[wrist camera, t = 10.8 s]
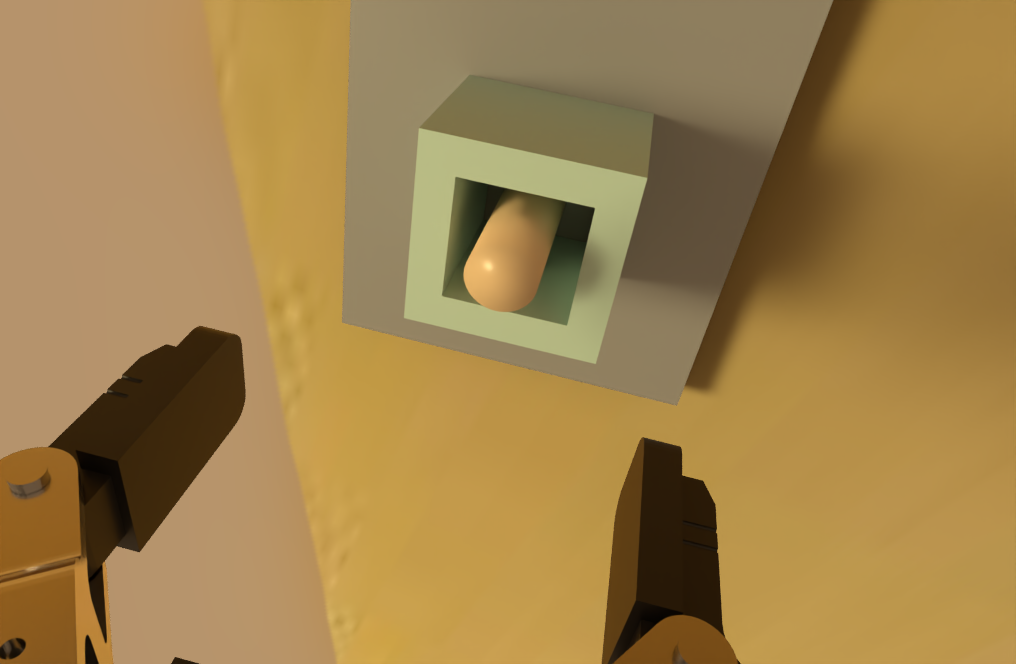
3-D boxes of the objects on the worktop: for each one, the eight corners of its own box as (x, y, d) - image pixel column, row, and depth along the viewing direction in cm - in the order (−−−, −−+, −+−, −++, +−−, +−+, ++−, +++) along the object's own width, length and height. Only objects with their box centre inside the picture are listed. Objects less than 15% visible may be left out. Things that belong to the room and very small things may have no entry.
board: (369, -135, 21) (228, -130, 15) (839, -42, 20) (917, 8, 14) (353, 307, 31) (261, 434, 24) (677, 387, 30) (676, 543, 23)
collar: (469, 74, 23) (419, 127, 19) (653, 113, 23) (647, 178, 18) (450, 239, 27) (403, 317, 22) (610, 276, 26) (595, 364, 22)
